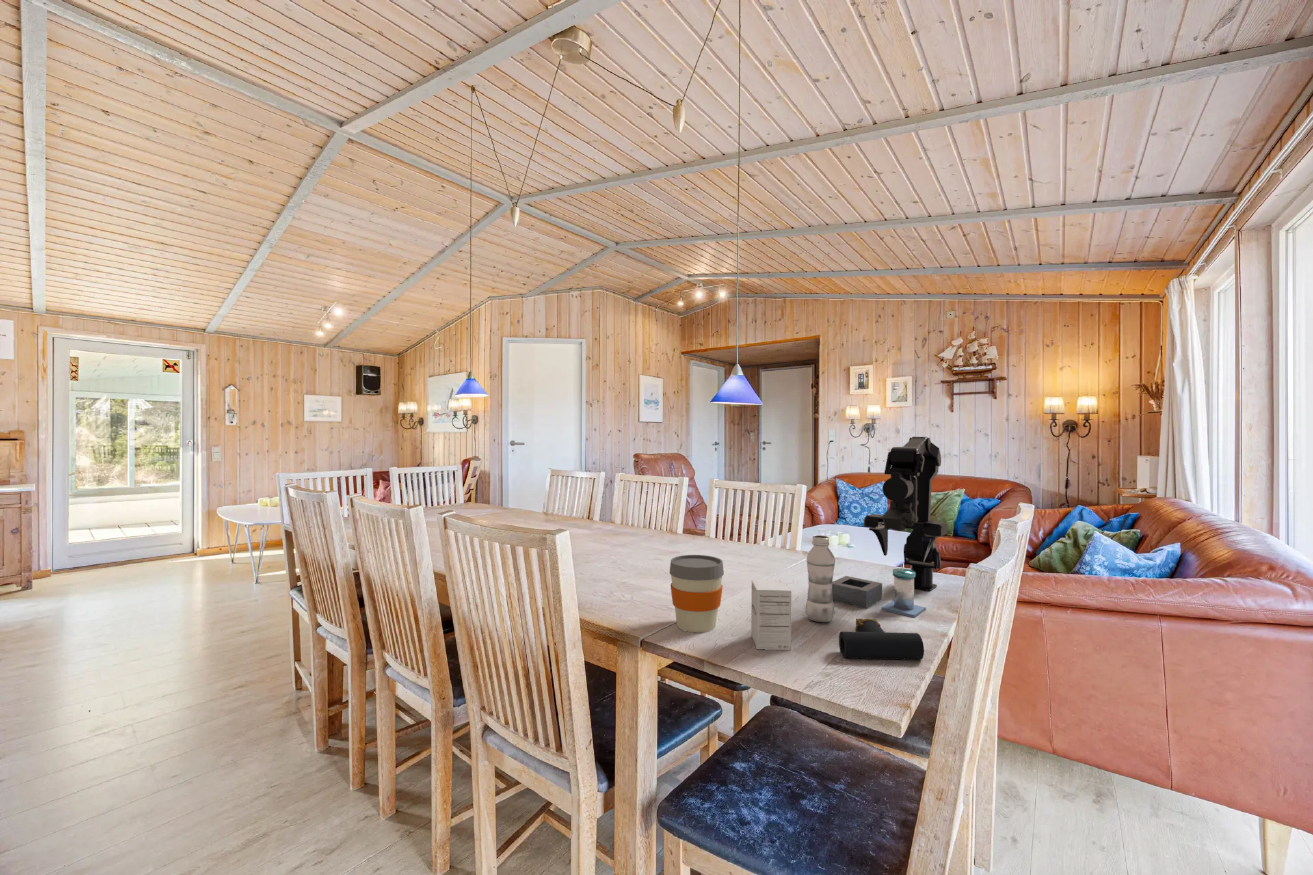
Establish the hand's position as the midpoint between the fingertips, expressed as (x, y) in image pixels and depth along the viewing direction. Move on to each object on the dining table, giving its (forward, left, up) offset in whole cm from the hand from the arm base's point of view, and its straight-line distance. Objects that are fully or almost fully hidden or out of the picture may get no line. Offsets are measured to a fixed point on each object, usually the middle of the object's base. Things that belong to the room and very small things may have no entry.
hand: (903, 558), depth 137 cm
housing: (+2, -12, -13) cm, 17 cm away
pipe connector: (+30, +5, -13) cm, 34 cm away
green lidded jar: (+1, 0, -12) cm, 12 cm away
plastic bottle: (+23, -11, -13) cm, 28 cm away
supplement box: (+43, -12, -13) cm, 46 cm away
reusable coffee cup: (+46, -30, -13) cm, 56 cm away
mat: (+1, 0, -13) cm, 13 cm away
